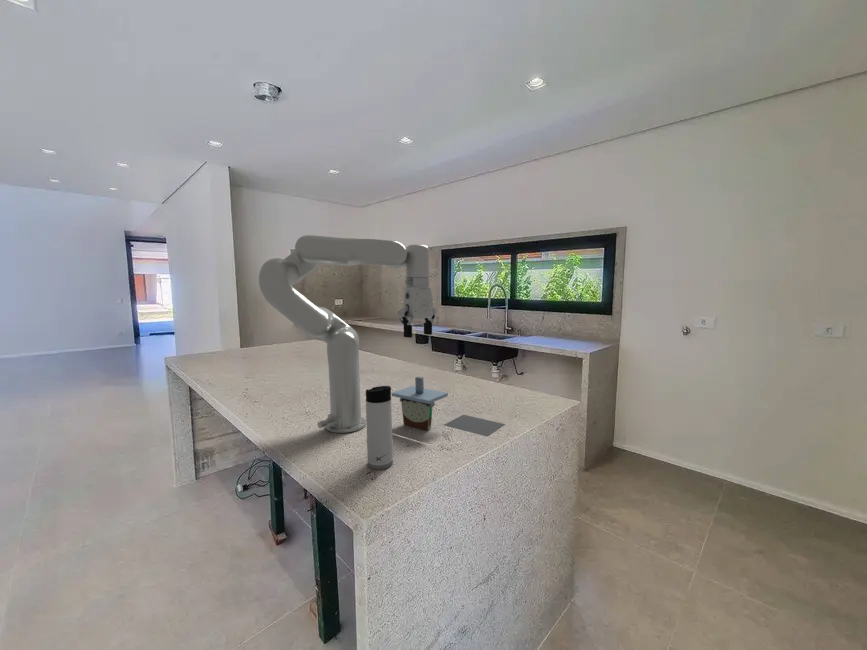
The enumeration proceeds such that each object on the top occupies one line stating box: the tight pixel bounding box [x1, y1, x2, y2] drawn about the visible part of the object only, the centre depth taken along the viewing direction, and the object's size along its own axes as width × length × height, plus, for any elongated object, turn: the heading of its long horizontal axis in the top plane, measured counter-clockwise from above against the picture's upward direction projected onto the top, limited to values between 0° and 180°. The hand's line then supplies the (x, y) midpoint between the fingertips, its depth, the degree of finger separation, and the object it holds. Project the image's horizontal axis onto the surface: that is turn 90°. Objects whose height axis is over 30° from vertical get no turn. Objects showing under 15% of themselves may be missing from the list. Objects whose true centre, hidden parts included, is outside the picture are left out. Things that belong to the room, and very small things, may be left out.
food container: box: [399, 398, 436, 432], centre depth 115 cm, size 12×6×10 cm, turn 58°
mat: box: [443, 414, 506, 437], centre depth 115 cm, size 12×16×1 cm
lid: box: [391, 376, 449, 404], centre depth 114 cm, size 10×15×6 cm, turn 53°
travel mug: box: [365, 385, 394, 471], centre depth 89 cm, size 6×7×20 cm
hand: (418, 335), depth 118 cm, fingers open, 9 cm apart
